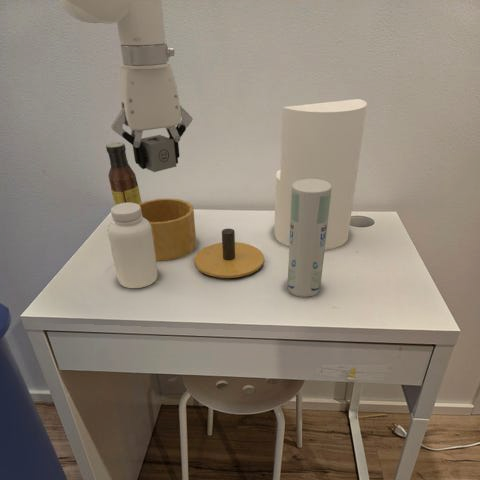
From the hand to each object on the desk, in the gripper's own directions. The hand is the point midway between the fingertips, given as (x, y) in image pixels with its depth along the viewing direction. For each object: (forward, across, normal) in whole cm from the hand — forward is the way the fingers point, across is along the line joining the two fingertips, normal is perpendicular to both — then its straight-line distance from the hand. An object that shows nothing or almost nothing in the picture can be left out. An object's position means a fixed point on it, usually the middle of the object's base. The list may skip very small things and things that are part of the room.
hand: (158, 163), depth 85 cm
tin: (+19, 0, -3) cm, 20 cm away
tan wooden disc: (+19, -10, +11) cm, 24 cm away
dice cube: (+1, 0, 0) cm, 1 cm away
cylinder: (+19, -32, +8) cm, 39 cm away
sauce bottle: (+20, +4, -16) cm, 26 cm away
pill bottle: (+20, +9, +8) cm, 23 cm away
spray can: (+19, -18, +27) cm, 37 cm away
